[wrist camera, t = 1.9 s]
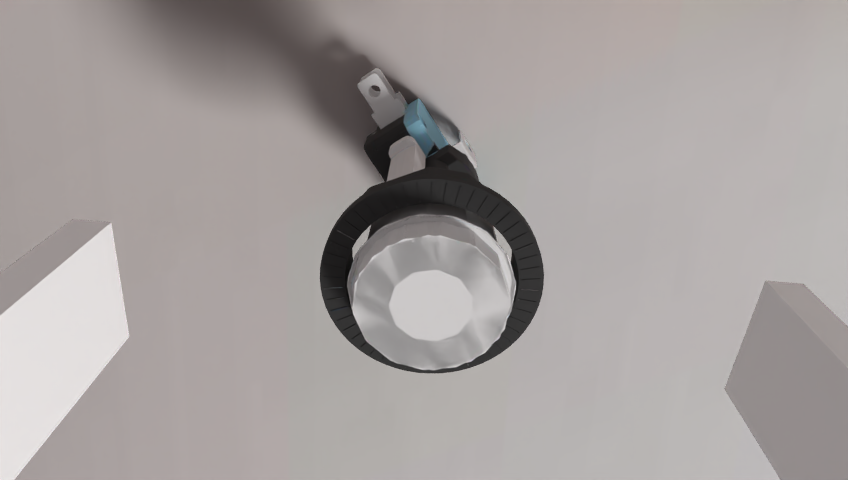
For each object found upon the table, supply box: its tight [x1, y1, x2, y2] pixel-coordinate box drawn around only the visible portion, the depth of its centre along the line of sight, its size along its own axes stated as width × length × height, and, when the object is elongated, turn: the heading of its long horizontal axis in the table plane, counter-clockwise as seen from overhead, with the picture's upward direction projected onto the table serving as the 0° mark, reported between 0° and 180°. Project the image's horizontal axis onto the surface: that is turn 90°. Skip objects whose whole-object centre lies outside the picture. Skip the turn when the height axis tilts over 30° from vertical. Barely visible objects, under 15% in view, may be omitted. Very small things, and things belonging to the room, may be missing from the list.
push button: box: [320, 68, 544, 373], centre depth 18 cm, size 7×5×10 cm
